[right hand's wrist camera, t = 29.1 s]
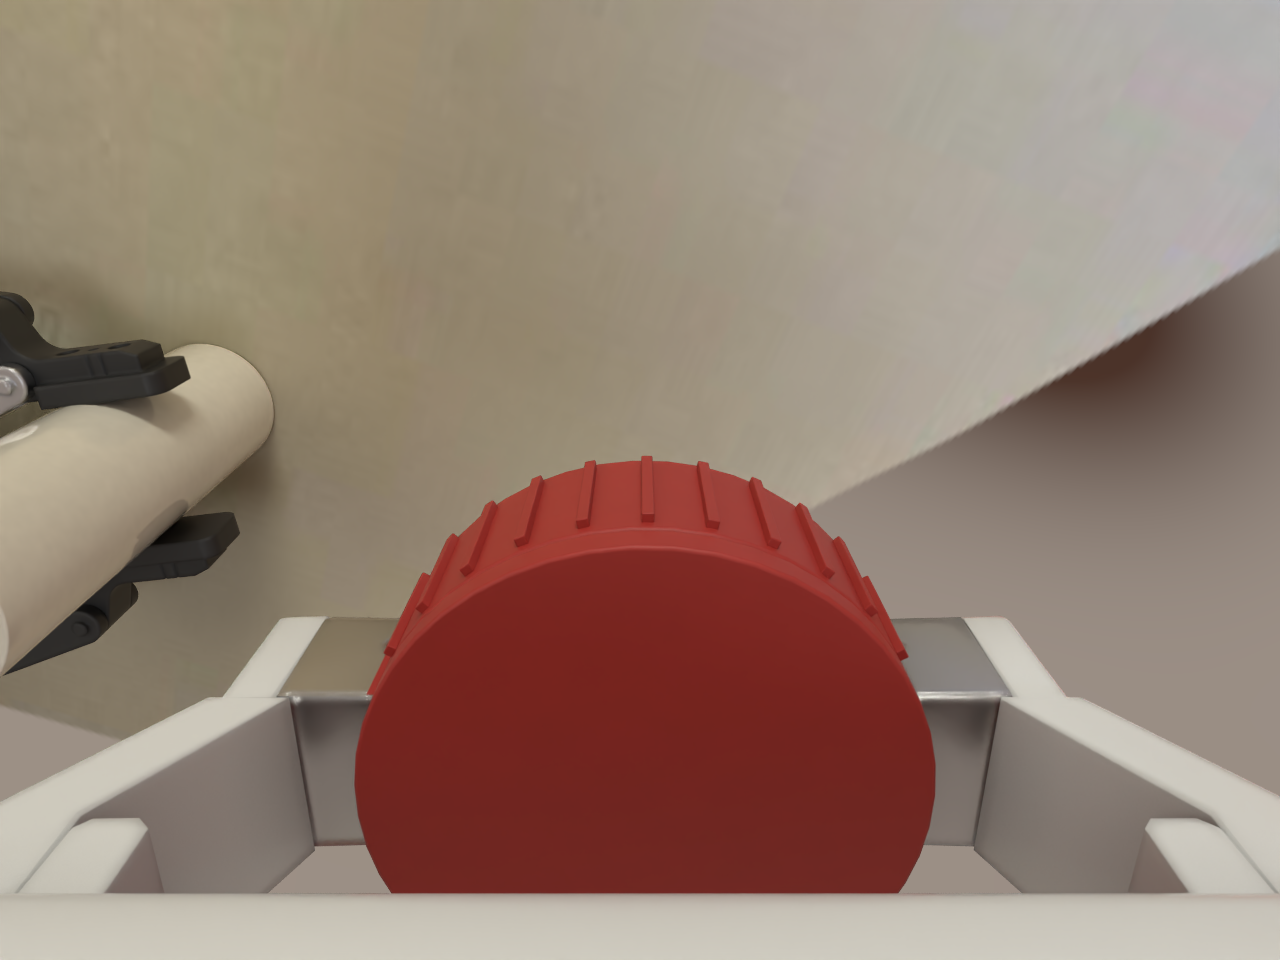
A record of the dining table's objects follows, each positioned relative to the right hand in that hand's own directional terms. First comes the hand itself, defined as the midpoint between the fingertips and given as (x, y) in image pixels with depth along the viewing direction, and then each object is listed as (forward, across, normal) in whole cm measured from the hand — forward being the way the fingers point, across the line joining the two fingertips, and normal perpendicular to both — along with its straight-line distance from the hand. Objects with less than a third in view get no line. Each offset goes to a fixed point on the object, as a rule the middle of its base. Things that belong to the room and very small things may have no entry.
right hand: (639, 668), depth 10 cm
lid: (-2, 0, 0) cm, 2 cm away
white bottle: (+24, +16, +4) cm, 30 cm away
